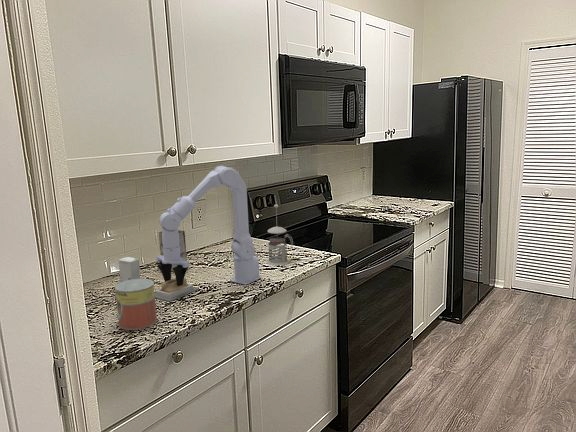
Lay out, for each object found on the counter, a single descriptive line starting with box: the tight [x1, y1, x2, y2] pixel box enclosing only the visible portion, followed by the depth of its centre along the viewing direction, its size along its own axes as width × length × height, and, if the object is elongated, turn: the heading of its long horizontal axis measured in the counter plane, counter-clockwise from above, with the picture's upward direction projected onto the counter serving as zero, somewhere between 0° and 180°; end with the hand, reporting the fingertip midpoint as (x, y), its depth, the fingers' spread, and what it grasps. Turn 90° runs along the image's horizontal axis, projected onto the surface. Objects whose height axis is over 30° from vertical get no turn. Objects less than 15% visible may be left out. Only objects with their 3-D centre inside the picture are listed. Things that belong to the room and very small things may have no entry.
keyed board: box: [154, 282, 200, 303], centre depth 167 cm, size 14×10×2 cm
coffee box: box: [158, 229, 188, 273], centre depth 193 cm, size 9×6×16 cm
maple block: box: [161, 277, 188, 293], centre depth 167 cm, size 4×8×4 cm, turn 146°
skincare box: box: [118, 256, 141, 283], centre depth 169 cm, size 6×4×12 cm
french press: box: [266, 203, 294, 266], centre depth 198 cm, size 10×12×25 cm
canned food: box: [114, 277, 158, 331], centre depth 142 cm, size 11×11×12 cm
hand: (174, 283), depth 166 cm, fingers open, 6 cm apart
